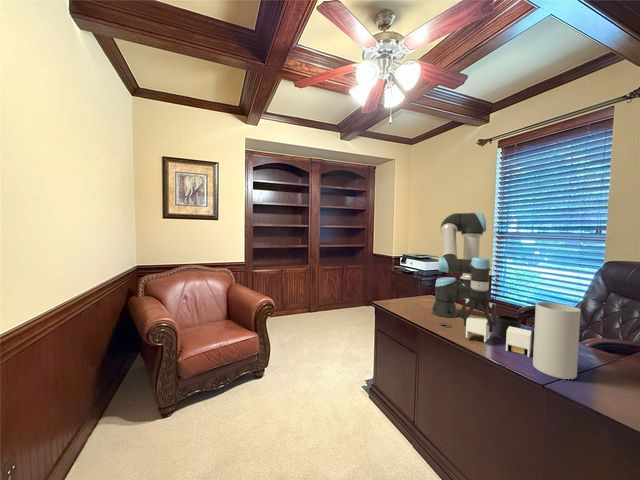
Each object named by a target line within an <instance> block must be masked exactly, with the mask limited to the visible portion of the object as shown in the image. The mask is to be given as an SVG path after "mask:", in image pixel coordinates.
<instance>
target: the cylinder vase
mask: <svg viewBox="0 0 640 480" xmlns="http://www.w3.org/2000/svg"><path fill="white" fill-rule="evenodd" d="M534 312H535V315H534V336H533V350H532V351H533V352H532V353H533V354H532V365H533V368H535V370H537V371H538V372H540V373H542V374H545V375H547V376H549V377H551V378H556V379H560V380H566V379H568V380H569V379H571V380H574V379H576V378H577V377H578V363H579V359H578V358H579V344H580V327H581V325H580V323H581V309H580V308H578V307H575V306H573V305H567V304H564V303H563V304H562V303H559V302H551V301H549V302H548V301H538V302H537V301H536V302H535V311H534ZM568 380H567V381H568ZM569 381H570V380H569Z"/></svg>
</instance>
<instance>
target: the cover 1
mask: <svg viewBox="0 0 640 480" xmlns="http://www.w3.org/2000/svg"><path fill="white" fill-rule="evenodd" d="M488 324H489V323H488V321H487V319H486V317H482V316H477V315H472V314H470V316H469V317H468V318H467V321H466V326H465V338H468V337H469V336H471V334H472V335H477V336H481V337H483V342H484V343H486V342H487V340H488V339H487V325H488Z"/></svg>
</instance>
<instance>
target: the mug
mask: <svg viewBox="0 0 640 480" xmlns="http://www.w3.org/2000/svg"><path fill="white" fill-rule="evenodd" d="M497 322H498V324H497V330H496V332H497V335H499V336H500V337H503V338H505V339H506V333H507V329H508V327H509V326H511V327H515V328H520V329H522V328H521V327H522V325H521V322H522V321H521V319H519V318H517V317H515V316H511V315H498V316H497Z"/></svg>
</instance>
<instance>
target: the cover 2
mask: <svg viewBox="0 0 640 480" xmlns="http://www.w3.org/2000/svg"><path fill="white" fill-rule="evenodd" d="M532 333H533V332H532V330H529V329H524V328H515V327H511V326H509V327H508V329H507V333H506V338H505V339H506V340H505V351H506V352H508V351H509V348H510V347H512V345H513V346H517V347H521V348H525V351H527V354H526V355H527V357H528V358H530V355H531V351H532Z"/></svg>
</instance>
